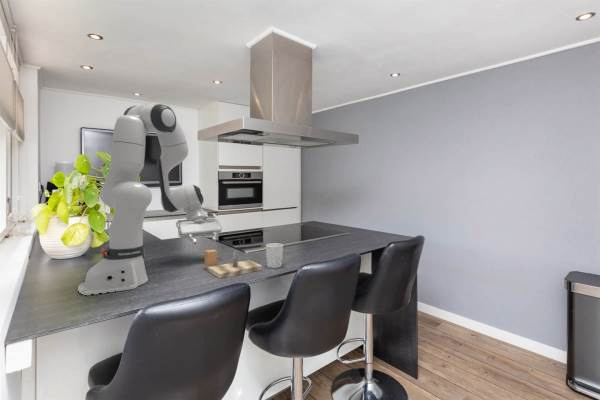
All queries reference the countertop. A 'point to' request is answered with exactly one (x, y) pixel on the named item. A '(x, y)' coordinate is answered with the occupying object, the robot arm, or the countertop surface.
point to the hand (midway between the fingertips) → (204, 242)
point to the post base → (234, 268)
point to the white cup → (274, 255)
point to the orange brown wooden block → (210, 258)
